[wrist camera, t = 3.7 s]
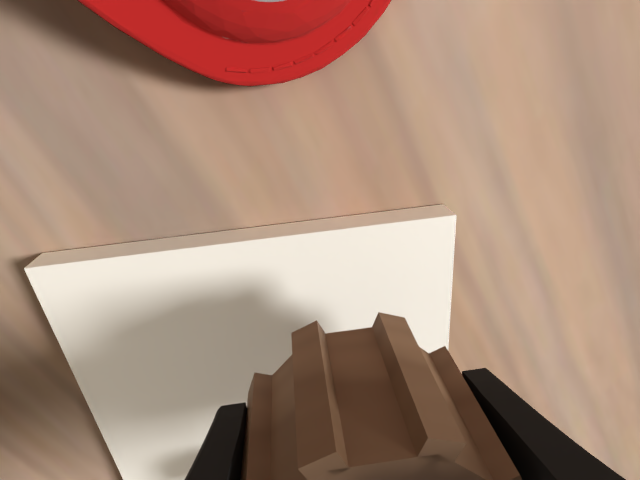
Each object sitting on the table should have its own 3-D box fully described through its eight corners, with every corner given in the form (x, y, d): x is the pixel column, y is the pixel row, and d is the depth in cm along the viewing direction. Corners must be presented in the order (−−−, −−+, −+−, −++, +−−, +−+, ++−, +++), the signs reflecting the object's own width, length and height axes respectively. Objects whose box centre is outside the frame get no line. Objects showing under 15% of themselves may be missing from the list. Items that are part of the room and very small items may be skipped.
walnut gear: (458, 301, 10) (545, 420, 7) (448, 452, 12) (509, 594, 9) (234, 331, 9) (211, 470, 6) (267, 479, 12) (264, 636, 9)
